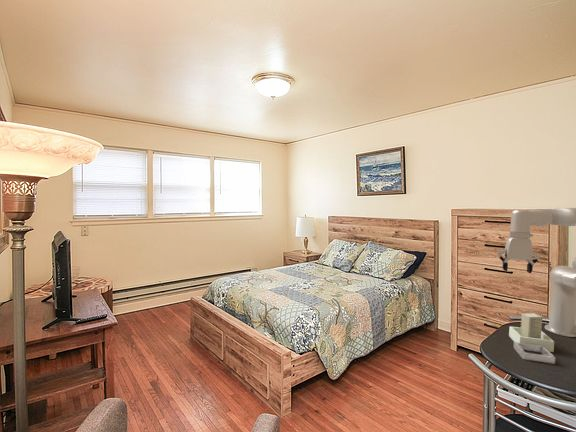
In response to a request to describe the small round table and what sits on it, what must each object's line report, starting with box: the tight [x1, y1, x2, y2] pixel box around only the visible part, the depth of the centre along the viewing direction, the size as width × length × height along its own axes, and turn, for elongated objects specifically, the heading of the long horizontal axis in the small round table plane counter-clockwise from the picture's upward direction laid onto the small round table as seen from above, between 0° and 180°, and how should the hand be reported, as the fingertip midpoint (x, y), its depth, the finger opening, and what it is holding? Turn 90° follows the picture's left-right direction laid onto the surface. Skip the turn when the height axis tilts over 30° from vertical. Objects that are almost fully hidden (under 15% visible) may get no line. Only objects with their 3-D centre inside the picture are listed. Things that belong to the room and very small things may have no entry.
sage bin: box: [508, 326, 555, 353], centre depth 138 cm, size 12×12×4 cm
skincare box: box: [520, 312, 543, 339], centre depth 138 cm, size 6×4×12 cm
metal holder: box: [513, 341, 556, 365], centre depth 127 cm, size 10×10×2 cm
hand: (517, 271), depth 152 cm, fingers open, 9 cm apart
